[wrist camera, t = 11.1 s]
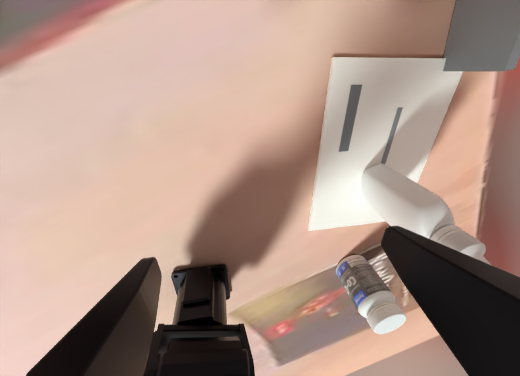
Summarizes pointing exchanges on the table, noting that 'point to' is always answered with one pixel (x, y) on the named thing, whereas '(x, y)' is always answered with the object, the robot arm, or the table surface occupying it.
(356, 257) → the pill bottle
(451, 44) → the gray rectangular block
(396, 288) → the table surface
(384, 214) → the white plastic bottle
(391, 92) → the paper sheet
